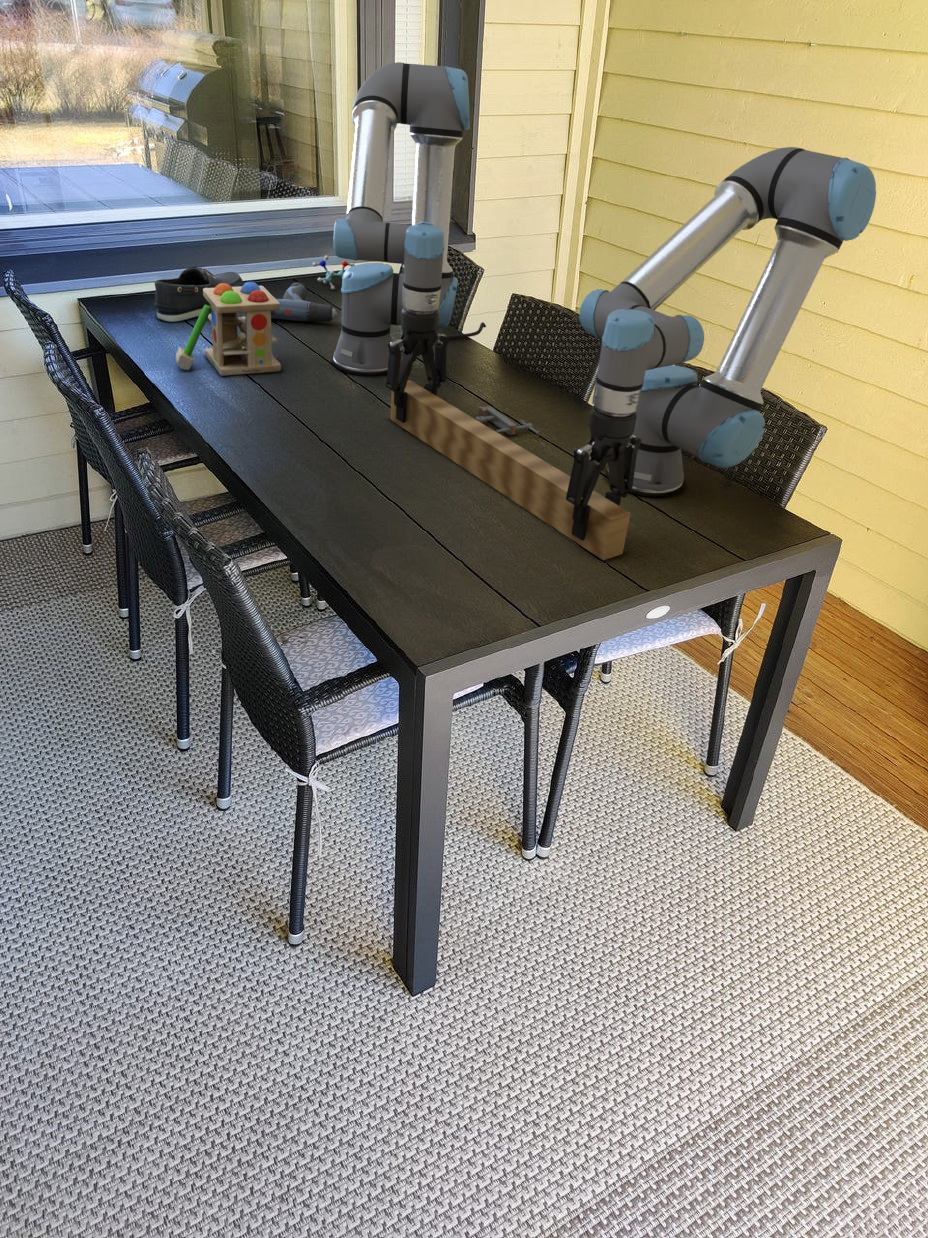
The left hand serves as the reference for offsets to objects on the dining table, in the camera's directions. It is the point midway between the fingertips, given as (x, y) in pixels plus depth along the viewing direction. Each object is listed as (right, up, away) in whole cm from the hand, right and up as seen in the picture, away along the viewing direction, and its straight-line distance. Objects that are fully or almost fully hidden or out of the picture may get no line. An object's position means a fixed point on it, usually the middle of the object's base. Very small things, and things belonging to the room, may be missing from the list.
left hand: (414, 417), depth 208 cm
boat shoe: (-60, +41, +56) cm, 92 cm away
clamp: (+19, -2, +5) cm, 20 cm away
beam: (+17, -16, -16) cm, 28 cm away
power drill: (-33, +40, +59) cm, 78 cm away
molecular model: (-29, +56, +82) cm, 103 cm away
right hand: (+33, -28, -35) cm, 56 cm away
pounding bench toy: (-45, +17, +22) cm, 53 cm away
